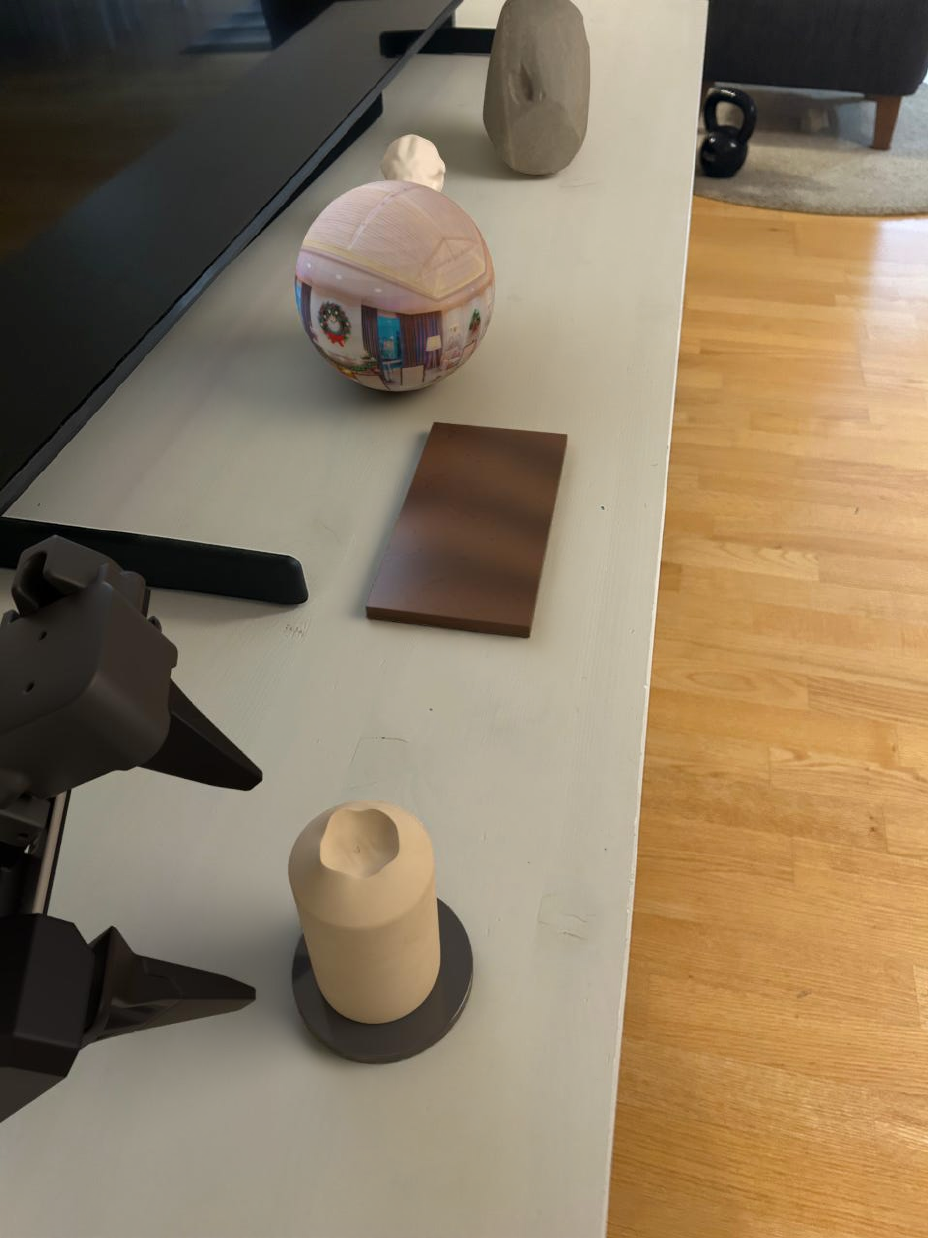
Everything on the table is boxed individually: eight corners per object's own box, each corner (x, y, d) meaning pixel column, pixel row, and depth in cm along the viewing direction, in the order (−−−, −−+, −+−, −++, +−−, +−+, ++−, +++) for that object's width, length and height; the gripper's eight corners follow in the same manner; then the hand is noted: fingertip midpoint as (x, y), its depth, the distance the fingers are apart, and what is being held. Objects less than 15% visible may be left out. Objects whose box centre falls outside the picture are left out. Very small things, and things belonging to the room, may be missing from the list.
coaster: (350, 1103, 40) (348, 1097, 39) (262, 950, 44) (259, 942, 44) (509, 994, 43) (509, 985, 42) (411, 861, 48) (410, 852, 47)
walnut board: (529, 638, 58) (530, 626, 57) (366, 618, 59) (365, 606, 59) (567, 445, 72) (567, 433, 71) (433, 432, 73) (433, 421, 73)
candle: (353, 1052, 40) (325, 936, 33) (294, 947, 44) (257, 821, 37) (464, 980, 42) (460, 857, 35) (400, 885, 46) (385, 755, 39)
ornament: (297, 344, 83) (269, 160, 72) (468, 320, 85) (466, 139, 75) (323, 443, 72) (295, 245, 62) (517, 412, 75) (522, 217, 64)
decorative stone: (481, 183, 107) (480, 27, 96) (485, 128, 119) (485, -16, 108) (591, 183, 106) (603, 26, 96) (584, 127, 118) (594, -17, 108)
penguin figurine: (445, 127, 94) (430, 188, 87) (449, 212, 101) (434, 275, 93) (381, 125, 95) (360, 186, 87) (388, 210, 101) (369, 273, 94)
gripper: (-193, 894, 18) (419, 1052, 27) (11, 372, 31) (378, 591, 40) (-380, 1101, 23) (188, 1178, 32) (-136, 575, 36) (219, 731, 45)
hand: (253, 881), depth 37 cm, fingers open, 9 cm apart
